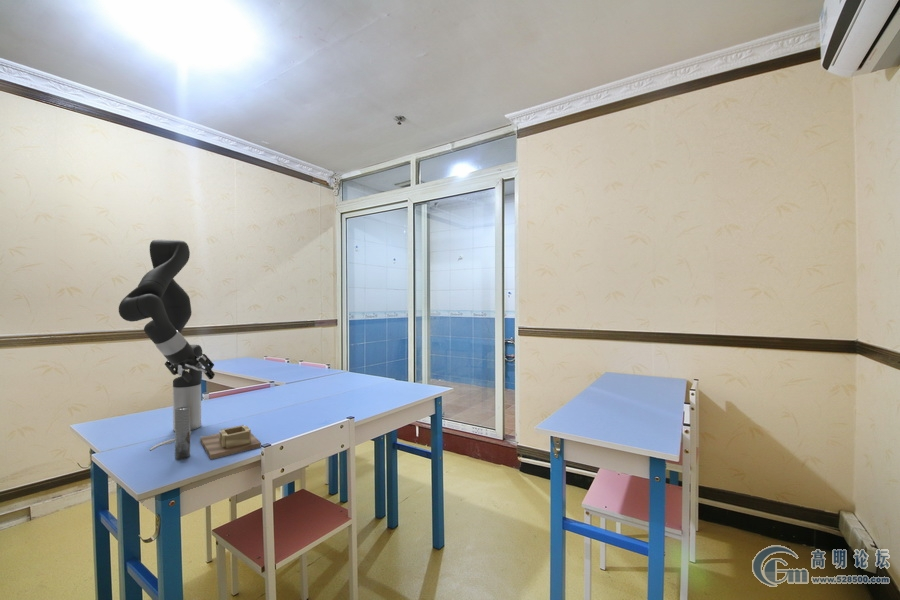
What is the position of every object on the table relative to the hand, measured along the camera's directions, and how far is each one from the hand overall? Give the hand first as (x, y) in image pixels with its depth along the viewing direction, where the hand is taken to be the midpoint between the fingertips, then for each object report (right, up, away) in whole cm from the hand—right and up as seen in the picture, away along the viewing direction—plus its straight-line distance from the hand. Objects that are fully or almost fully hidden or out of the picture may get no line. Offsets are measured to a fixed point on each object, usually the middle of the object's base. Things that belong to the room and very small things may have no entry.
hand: (201, 378), depth 133 cm
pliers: (-11, -24, +3) cm, 27 cm away
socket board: (+10, -23, +1) cm, 25 cm away
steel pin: (+1, -24, -10) cm, 26 cm away
